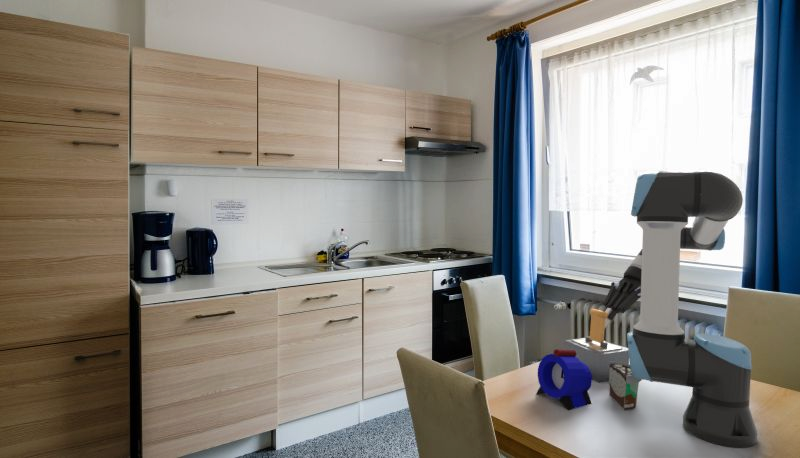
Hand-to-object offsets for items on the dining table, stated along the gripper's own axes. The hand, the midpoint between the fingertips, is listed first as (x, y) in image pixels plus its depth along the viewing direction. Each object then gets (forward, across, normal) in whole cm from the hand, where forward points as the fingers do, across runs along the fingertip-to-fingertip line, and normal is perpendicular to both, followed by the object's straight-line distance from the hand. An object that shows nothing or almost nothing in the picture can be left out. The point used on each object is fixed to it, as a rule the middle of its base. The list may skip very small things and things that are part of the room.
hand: (600, 325), depth 158 cm
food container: (+19, -23, -2) cm, 30 cm away
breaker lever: (+5, -1, -2) cm, 6 cm away
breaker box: (+13, -1, -9) cm, 15 cm away
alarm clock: (+29, -15, +8) cm, 33 cm away
